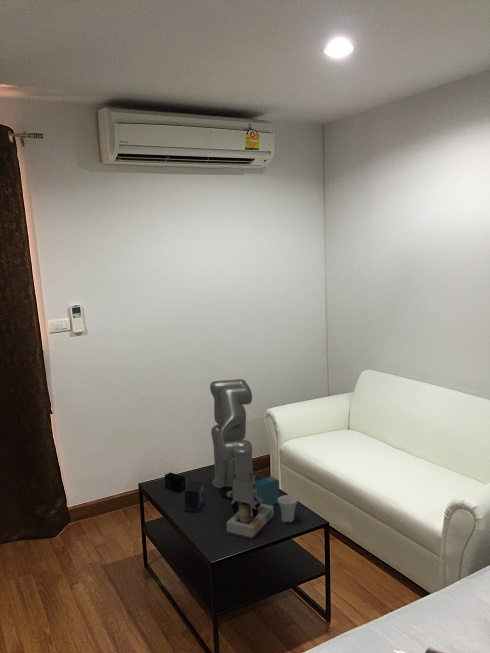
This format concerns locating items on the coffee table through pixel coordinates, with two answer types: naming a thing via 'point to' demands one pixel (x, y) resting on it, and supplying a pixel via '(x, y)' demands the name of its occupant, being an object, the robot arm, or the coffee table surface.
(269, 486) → the data package
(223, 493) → the hairbrush
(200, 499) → the small box
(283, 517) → the cup
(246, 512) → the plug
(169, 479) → the digital camera
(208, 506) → the coffee table surface
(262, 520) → the socket block
